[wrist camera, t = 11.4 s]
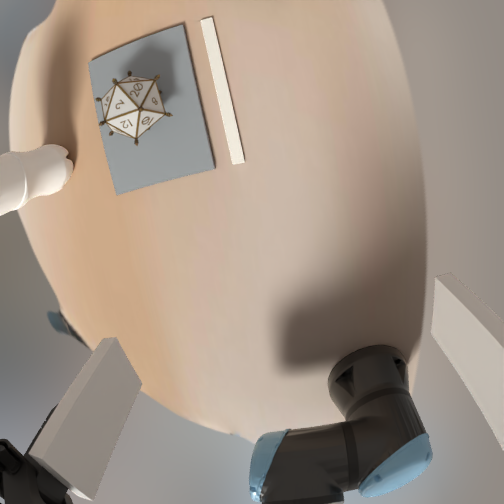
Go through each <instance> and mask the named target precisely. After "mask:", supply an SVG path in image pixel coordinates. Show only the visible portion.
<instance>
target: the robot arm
mask: <svg viewBox="0 0 504 504" xmlns="http://www.w3.org/2000/svg"><path fill="white" fill-rule="evenodd" d="M431 334H432V336H433V337H434V339H435V340H436V342H437V343H438V344H439V346H440V347H441V349H442V350H443V352H444V353H445V355H446V356H447V357H448V359H449V360H450V362H451V363H452V365H453V366H454V368H455V369H456V371H457V373H458V374H459V375H460V377H461V379H462V380H463V382H464V383H465V385H466V387H467V388H468V389H469V391H470V393H471V394H472V396H473V398H474V399H475V401H476V403H477V404H478V406H479V408H480V409H481V411H482V413H483V415H484V416H485V418H486V420H487V422H488V423H489V425H490V427H491V428H492V430H493V432H494V434H495V436H496V438H497V440H498V442H499V444H500V445H501V447H502V449H503V450H504V322H503V320H502V319H501V318H499V317H498V316H497V315H496V314H495V313H494V312H493V311H492V310H491V309H490V308H489V307H488V306H487V305H486V304H485V303H484V302H483V301H482V300H481V299H480V298H479V297H477V296H476V295H475V294H474V293H473V292H472V291H471V290H470V289H468V287H466V286H465V285H464V284H463V283H462V282H461V281H460V280H458V279H457V278H456V277H455V276H454V275H453V274H451V273H447V274H444V275H440V276H437V277H435V289H434V304H433V316H432V326H431ZM141 386H142V382H141V380H140V379H139V377H138V375H137V374H136V372H135V370H134V368H133V367H132V365H131V363H130V361H129V360H128V358H127V356H126V354H125V353H124V351H123V349H122V347H121V345H120V343H119V341H118V339H117V338H116V337H115V338H104V339H102V341H101V342H100V344H99V345H98V346H97V348H96V349H95V351H94V352H93V353H92V355H91V356H90V358H89V359H88V361H87V362H86V364H85V365H84V366H83V368H82V369H81V371H80V372H79V374H78V375H77V377H76V378H75V380H74V381H73V383H72V384H71V386H70V387H69V389H68V390H67V392H66V393H65V395H64V396H63V398H62V399H61V401H60V403H59V404H58V405H56V406H55V407H54V408H53V409H52V410H51V412H50V413H49V415H48V417H47V418H46V421H44V423H43V425H42V426H41V427H42V428H40V430H39V431H38V433H37V435H36V436H35V438H34V439H33V441H32V443H31V444H30V446H29V448H28V450H27V451H26V453H25V454H24V456H23V455H22V454H21V453H20V452H19V451H18V450H17V449H16V448H15V447H14V446H13V445H12V444H11V443H10V442H9V441H8V440H7V439H0V497H2V498H3V499H4V500H5V504H73V503H72V500H71V498H70V496H69V495H68V494H67V493H66V492H67V490H68V489H70V490H71V491H72V492H73V493H75V494H76V495H77V496H79V497H82V498H85V499H88V500H91V501H93V500H94V498H95V495H96V493H97V490H98V488H99V485H100V483H101V480H102V477H103V475H104V472H105V470H106V467H107V465H108V462H109V460H110V458H111V455H112V453H113V450H114V448H115V445H116V443H117V441H118V438H119V436H120V433H121V431H122V429H123V427H124V424H125V422H126V420H127V417H128V415H129V413H130V410H131V408H132V406H133V404H134V401H135V399H136V397H137V394H138V392H139V390H140V388H141ZM328 388H329V393H330V396H331V399H332V400H333V402H334V403H335V405H336V406H337V407H338V409H339V410H340V412H341V413H342V414H343V416H344V417H345V420H346V421H345V422H340V423H334V424H328V425H322V426H316V427H309V428H301V429H293V430H291V429H286V430H284V431H277V432H270V433H266V434H264V435H262V436H261V437H260V438H259V439H258V441H257V442H256V445H255V447H254V450H253V454H252V459H251V465H250V475H249V485H250V496H251V498H252V500H254V501H257V502H262V504H343V503H344V496H343V492H345V491H349V490H355V489H358V491H359V493H360V494H361V495H362V496H363V497H371V496H373V497H375V496H379V495H383V494H386V493H388V492H391V491H393V490H395V489H397V488H399V487H401V486H403V485H405V484H407V483H408V482H410V481H411V480H413V479H414V478H416V477H417V476H419V475H420V474H421V473H422V472H423V471H424V470H425V469H426V468H427V467H428V465H429V464H430V462H431V460H432V455H433V453H432V449H431V445H430V442H429V435H428V434H427V433H426V430H425V428H424V426H423V423H422V421H421V419H420V416H419V414H418V412H417V409H416V407H415V405H414V403H413V400H412V398H411V396H410V393H409V381H408V367H407V363H406V361H405V359H404V357H403V355H402V354H401V353H400V352H399V351H398V350H397V349H395V348H393V347H390V346H371V347H367V348H363V349H361V350H358V351H356V352H354V353H352V354H350V355H348V356H347V357H345V358H344V359H343V360H341V361H340V362H339V363H338V364H337V365H336V366H335V367H334V369H333V370H332V372H331V374H330V376H329V379H328ZM0 504H1V503H0Z"/></svg>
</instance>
